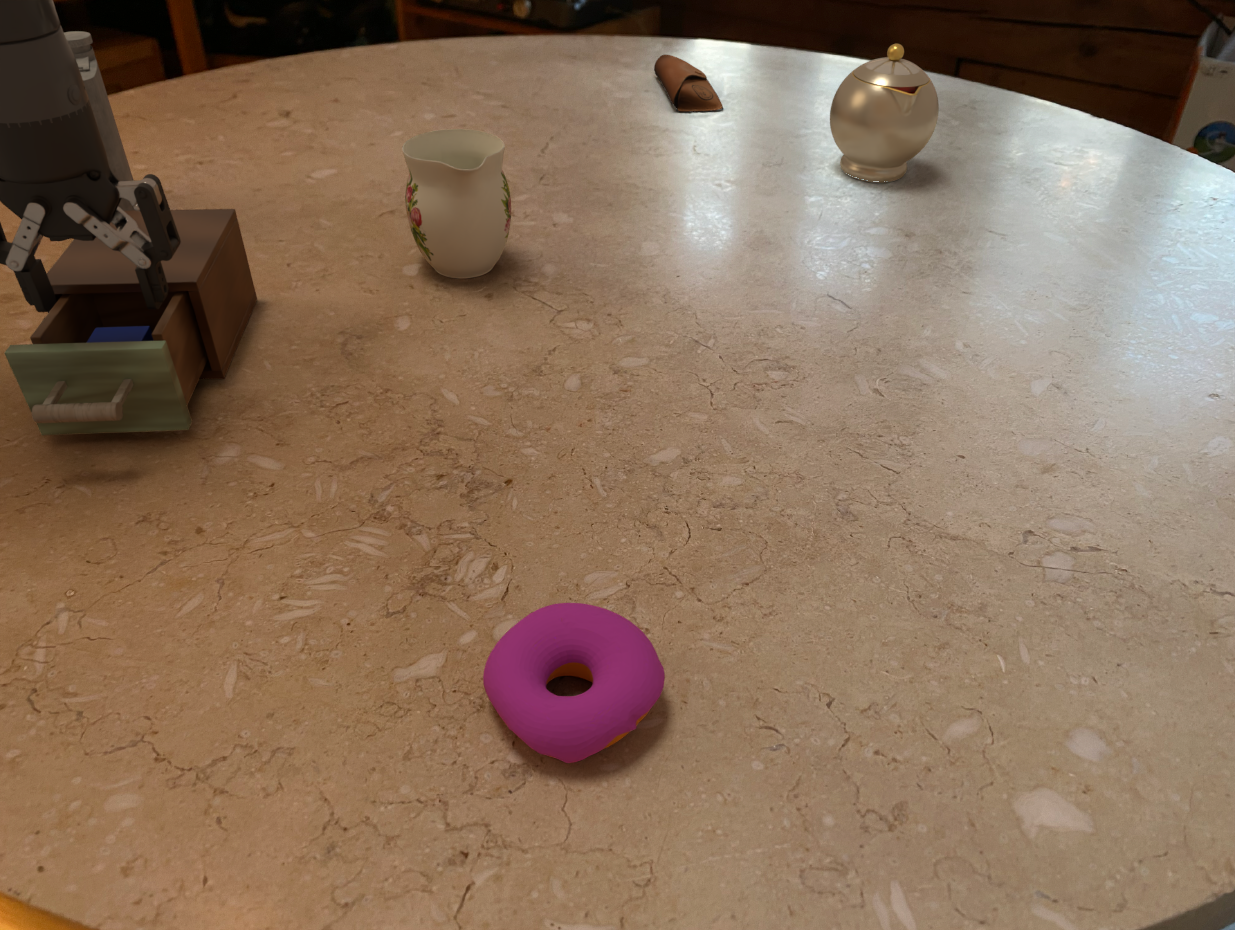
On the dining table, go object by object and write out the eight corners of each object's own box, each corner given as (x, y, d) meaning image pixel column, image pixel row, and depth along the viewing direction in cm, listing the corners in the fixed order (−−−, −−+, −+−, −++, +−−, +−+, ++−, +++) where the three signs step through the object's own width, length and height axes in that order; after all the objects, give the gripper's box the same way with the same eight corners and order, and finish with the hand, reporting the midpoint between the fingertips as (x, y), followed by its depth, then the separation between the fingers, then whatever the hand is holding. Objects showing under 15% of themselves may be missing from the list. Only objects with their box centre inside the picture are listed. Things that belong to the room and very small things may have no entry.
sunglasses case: (727, 107, 144) (708, 69, 140) (687, 132, 146) (667, 95, 142) (702, 72, 158) (684, 36, 154) (665, 95, 160) (647, 60, 156)
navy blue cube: (95, 400, 78) (77, 355, 76) (112, 371, 82) (95, 327, 79) (150, 397, 79) (134, 353, 76) (164, 369, 82) (149, 325, 79)
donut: (462, 681, 59) (456, 633, 56) (595, 613, 64) (595, 565, 61) (550, 803, 53) (548, 756, 50) (690, 717, 58) (696, 669, 55)
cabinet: (224, 379, 85) (196, 281, 79) (76, 383, 84) (36, 285, 78) (257, 298, 96) (235, 208, 90) (128, 302, 95) (96, 210, 89)
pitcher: (492, 221, 112) (484, 104, 103) (531, 291, 99) (526, 163, 90) (399, 232, 109) (383, 113, 101) (427, 306, 96) (412, 175, 87)
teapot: (941, 192, 122) (974, 60, 112) (841, 196, 120) (865, 62, 110) (891, 142, 136) (916, 21, 126) (800, 145, 134) (818, 22, 124)
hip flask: (101, 192, 116) (42, 18, 103) (136, 186, 118) (83, 14, 105) (115, 244, 105) (52, 56, 93) (154, 237, 107) (97, 52, 94)
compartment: (173, 466, 74) (143, 382, 69) (18, 472, 73) (-24, 387, 68) (226, 343, 88) (205, 266, 83) (97, 347, 87) (68, 269, 82)
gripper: (150, 83, 69) (205, 282, 79) (-56, 83, 68) (27, 285, 78) (117, 118, 63) (181, 328, 73) (-108, 119, 62) (-11, 332, 72)
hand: (102, 306), depth 76 cm, fingers open, 8 cm apart
